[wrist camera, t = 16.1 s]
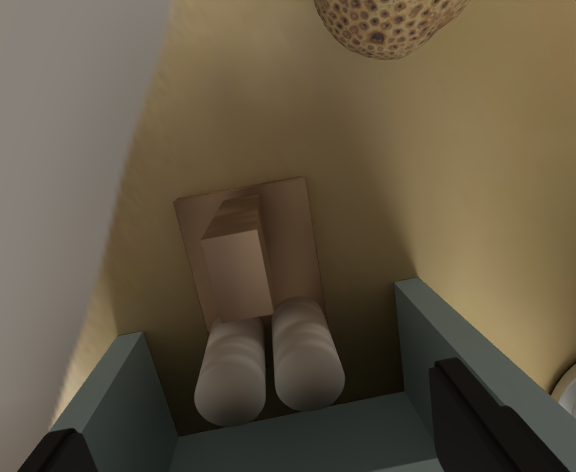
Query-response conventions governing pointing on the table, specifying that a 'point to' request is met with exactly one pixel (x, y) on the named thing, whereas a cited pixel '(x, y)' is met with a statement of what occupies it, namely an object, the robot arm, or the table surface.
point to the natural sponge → (386, 24)
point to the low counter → (314, 424)
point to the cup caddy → (259, 301)
